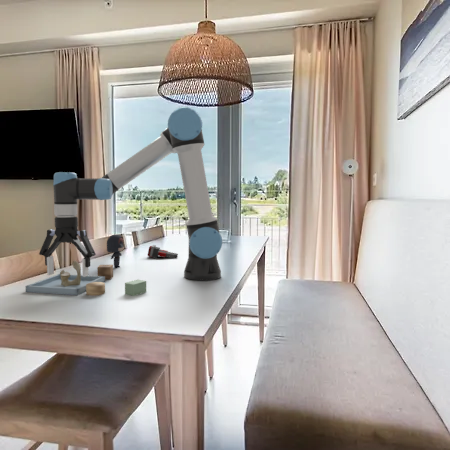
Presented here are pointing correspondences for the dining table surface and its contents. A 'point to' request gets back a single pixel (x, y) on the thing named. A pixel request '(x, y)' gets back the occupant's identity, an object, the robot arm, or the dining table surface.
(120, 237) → the toy
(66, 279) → the beige curved figurine
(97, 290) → the oak disc
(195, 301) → the dining table surface
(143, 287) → the green painted block
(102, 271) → the walnut cube
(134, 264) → the dining table surface
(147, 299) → the dining table surface
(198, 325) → the dining table surface
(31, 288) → the tray
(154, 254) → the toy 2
